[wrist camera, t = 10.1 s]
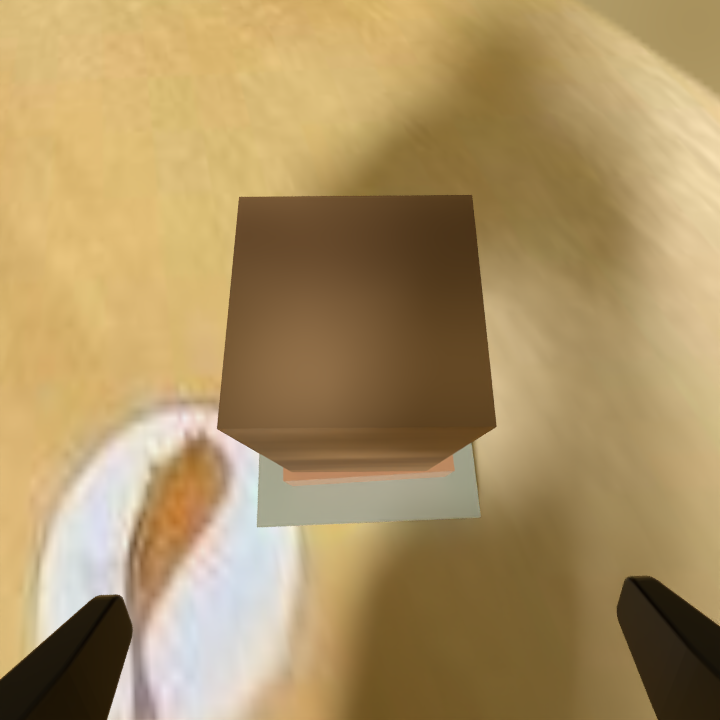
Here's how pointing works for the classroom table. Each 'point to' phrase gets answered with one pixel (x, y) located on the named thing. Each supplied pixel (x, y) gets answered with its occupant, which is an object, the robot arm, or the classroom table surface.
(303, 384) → the walnut pillar
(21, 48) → the classroom table surface
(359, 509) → the grey flat square slab
